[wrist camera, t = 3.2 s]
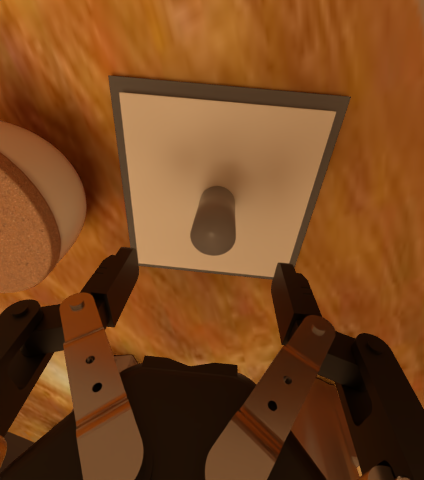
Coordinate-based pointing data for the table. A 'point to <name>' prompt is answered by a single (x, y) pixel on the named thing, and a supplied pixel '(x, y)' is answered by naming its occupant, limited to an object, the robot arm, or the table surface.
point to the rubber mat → (228, 95)
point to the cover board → (220, 180)
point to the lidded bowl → (35, 207)
